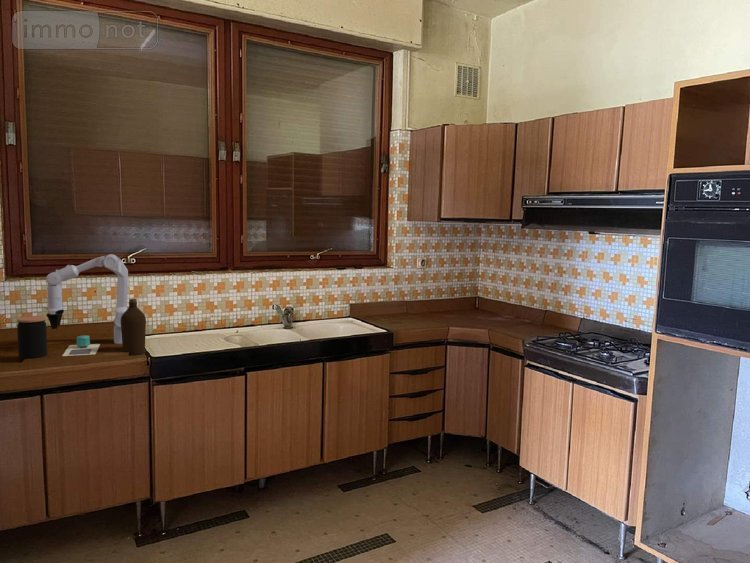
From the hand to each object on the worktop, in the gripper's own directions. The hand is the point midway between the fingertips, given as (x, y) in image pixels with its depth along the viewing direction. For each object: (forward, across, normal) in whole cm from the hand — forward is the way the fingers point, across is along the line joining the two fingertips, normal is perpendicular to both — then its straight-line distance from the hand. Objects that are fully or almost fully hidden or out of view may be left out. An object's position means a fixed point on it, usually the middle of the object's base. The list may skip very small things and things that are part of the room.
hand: (55, 327), depth 260 cm
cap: (+8, +7, +12) cm, 16 cm away
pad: (+9, +17, +12) cm, 23 cm away
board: (+10, +12, +12) cm, 20 cm away
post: (+9, +7, +12) cm, 16 cm away
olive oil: (+10, +18, +34) cm, 40 cm away
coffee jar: (+10, +19, -6) cm, 22 cm away
